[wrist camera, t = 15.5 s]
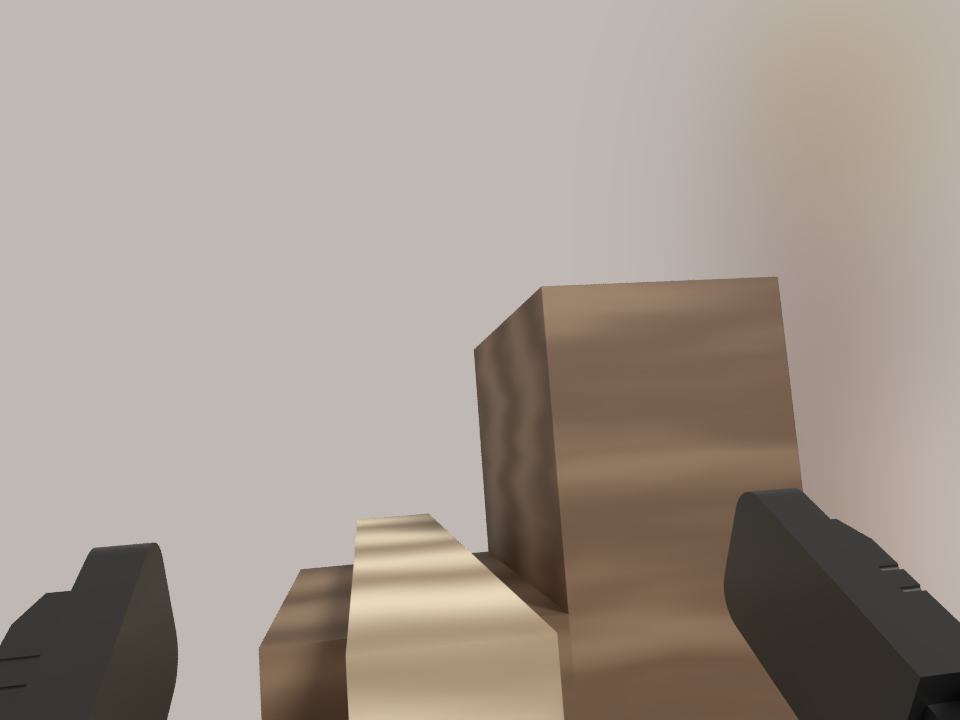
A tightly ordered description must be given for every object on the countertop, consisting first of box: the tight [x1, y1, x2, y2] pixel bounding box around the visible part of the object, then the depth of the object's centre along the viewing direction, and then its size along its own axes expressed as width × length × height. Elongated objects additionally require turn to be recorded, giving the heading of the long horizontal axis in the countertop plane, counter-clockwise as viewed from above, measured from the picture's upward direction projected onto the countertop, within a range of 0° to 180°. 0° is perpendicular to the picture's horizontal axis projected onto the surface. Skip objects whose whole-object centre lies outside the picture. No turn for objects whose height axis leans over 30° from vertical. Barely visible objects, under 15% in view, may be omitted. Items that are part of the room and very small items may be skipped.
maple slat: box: [346, 514, 564, 720], centre depth 25 cm, size 26×4×2 cm, turn 9°
